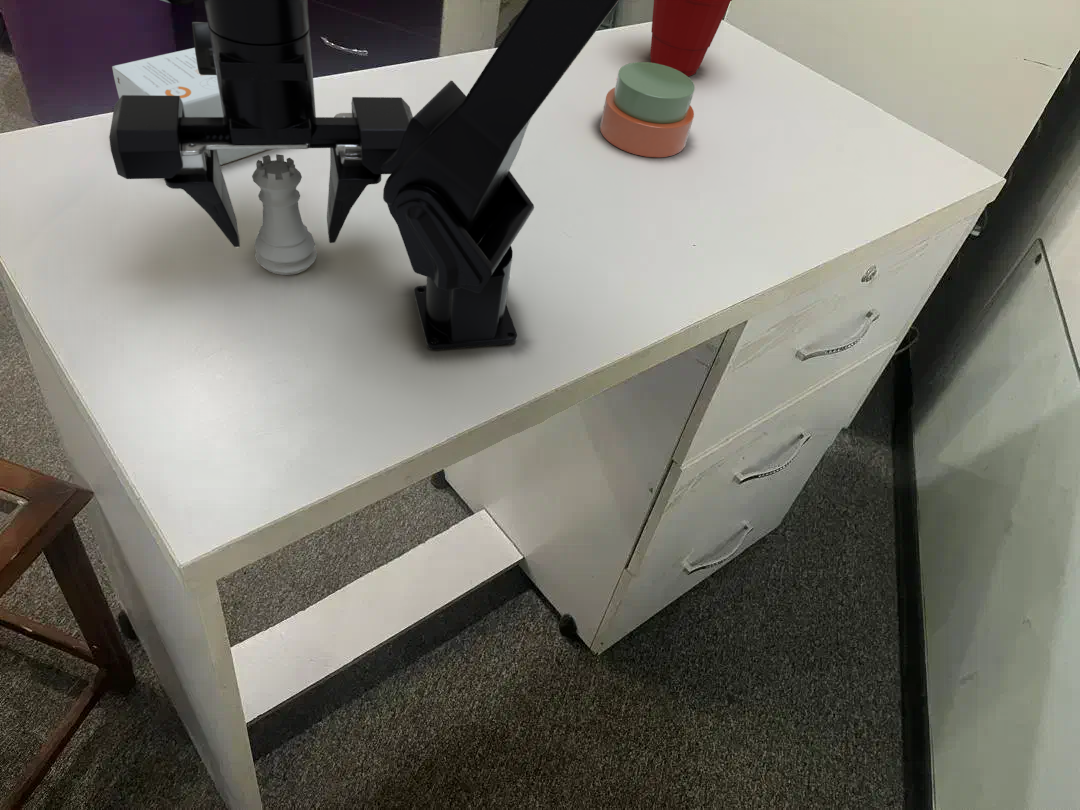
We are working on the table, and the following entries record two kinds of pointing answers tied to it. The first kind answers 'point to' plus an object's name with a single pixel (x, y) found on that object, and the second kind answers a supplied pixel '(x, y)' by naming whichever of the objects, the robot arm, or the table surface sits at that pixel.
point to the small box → (176, 87)
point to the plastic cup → (684, 31)
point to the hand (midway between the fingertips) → (285, 241)
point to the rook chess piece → (281, 219)
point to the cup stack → (648, 110)
